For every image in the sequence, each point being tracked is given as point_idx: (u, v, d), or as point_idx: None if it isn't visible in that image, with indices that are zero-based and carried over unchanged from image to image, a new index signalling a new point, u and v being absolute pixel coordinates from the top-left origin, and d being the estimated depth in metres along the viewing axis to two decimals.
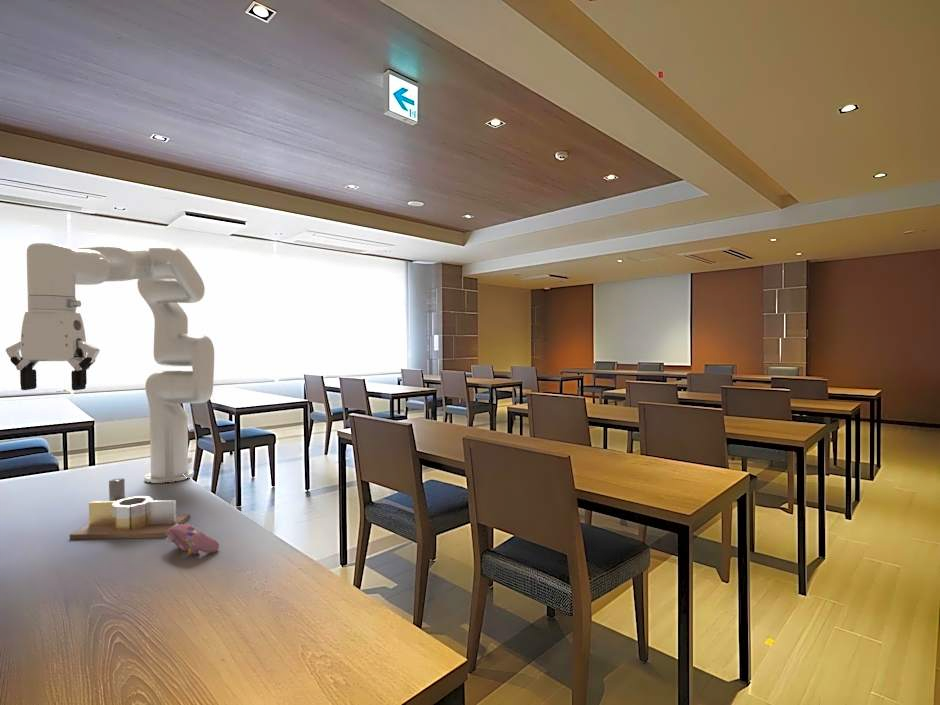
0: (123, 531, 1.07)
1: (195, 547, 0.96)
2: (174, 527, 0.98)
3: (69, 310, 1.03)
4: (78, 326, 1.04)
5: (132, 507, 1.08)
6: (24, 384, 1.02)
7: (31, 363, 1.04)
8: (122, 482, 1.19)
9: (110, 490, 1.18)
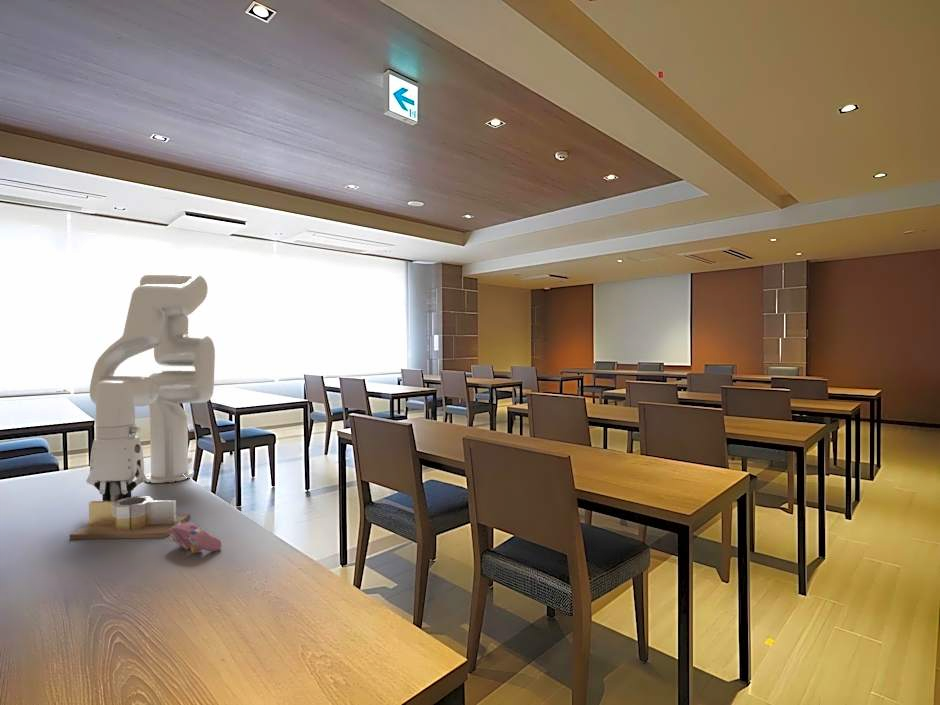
0: (123, 531, 1.07)
1: (198, 546, 0.97)
2: (177, 526, 0.99)
3: (131, 436, 1.19)
4: (137, 448, 1.21)
5: (132, 507, 1.08)
6: None
7: (108, 485, 1.20)
8: None
9: (110, 490, 1.18)
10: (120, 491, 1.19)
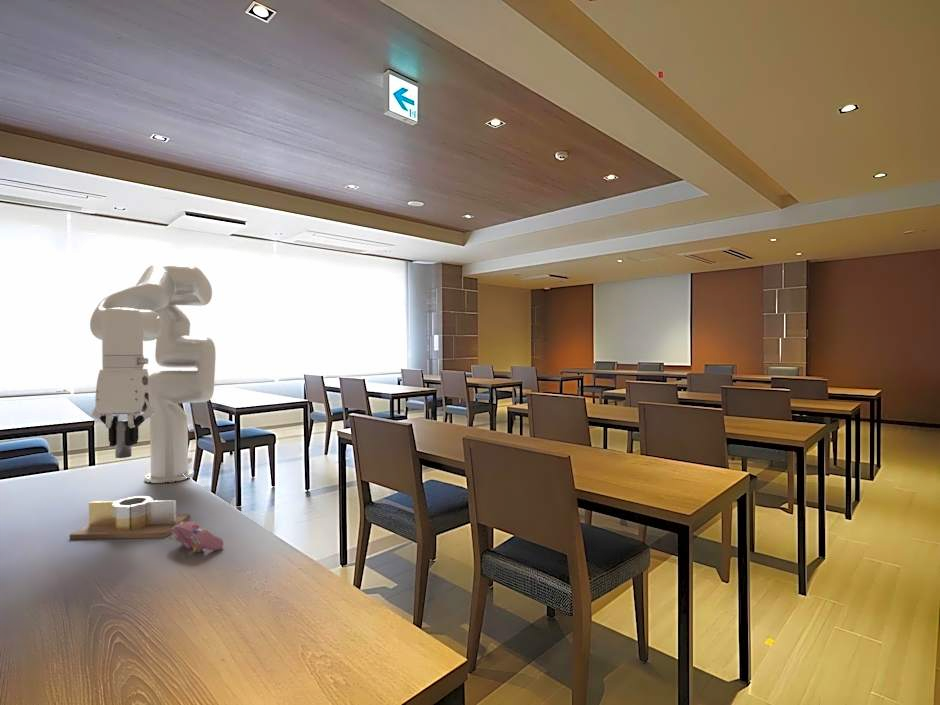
0: (123, 531, 1.07)
1: (200, 545, 0.97)
2: (179, 525, 0.99)
3: (138, 367, 1.13)
4: (145, 381, 1.15)
5: (132, 507, 1.08)
6: (112, 441, 1.12)
7: (115, 419, 1.14)
8: None
9: (116, 431, 1.12)
10: None
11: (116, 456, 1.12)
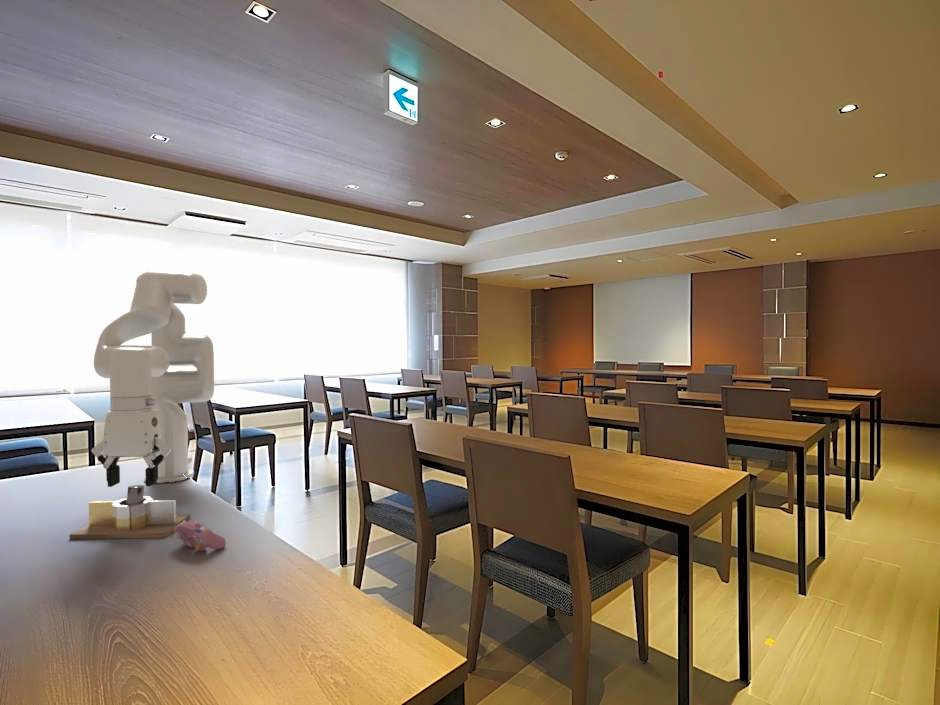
0: (123, 531, 1.07)
1: (203, 544, 0.98)
2: (181, 524, 1.00)
3: (147, 408, 1.10)
4: (154, 422, 1.11)
5: (132, 507, 1.08)
6: (110, 481, 1.09)
7: (115, 459, 1.11)
8: (142, 489, 1.11)
9: (128, 497, 1.10)
10: (138, 499, 1.10)
11: None
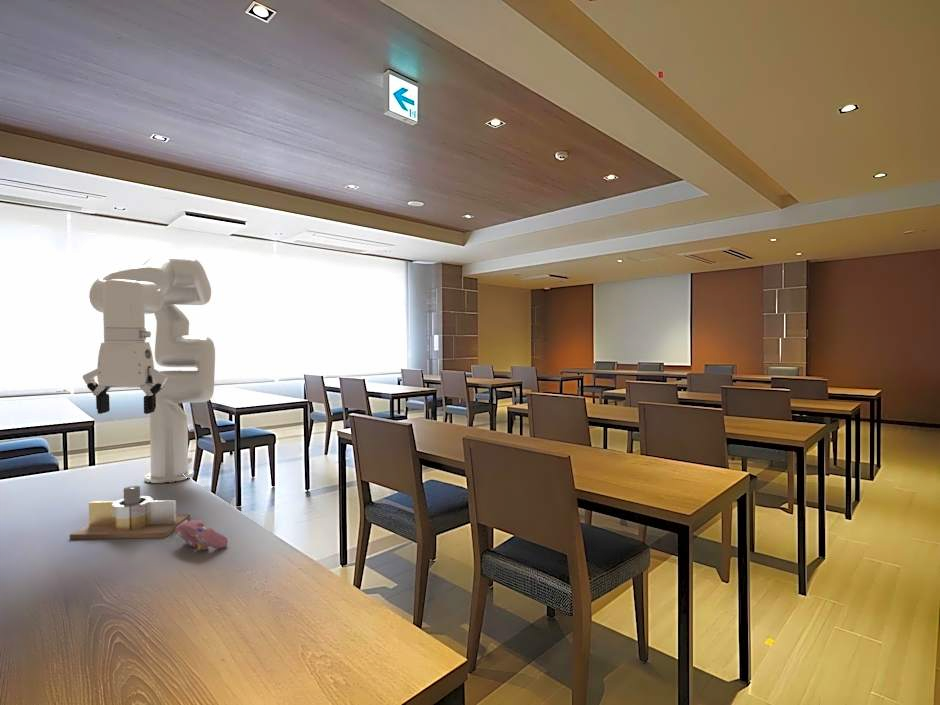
0: (123, 531, 1.07)
1: (205, 543, 0.98)
2: (184, 523, 1.00)
3: (141, 340, 1.12)
4: (148, 354, 1.13)
5: (132, 507, 1.08)
6: (100, 408, 1.11)
7: (105, 388, 1.13)
8: (138, 490, 1.10)
9: (125, 499, 1.09)
10: (135, 500, 1.10)
11: None
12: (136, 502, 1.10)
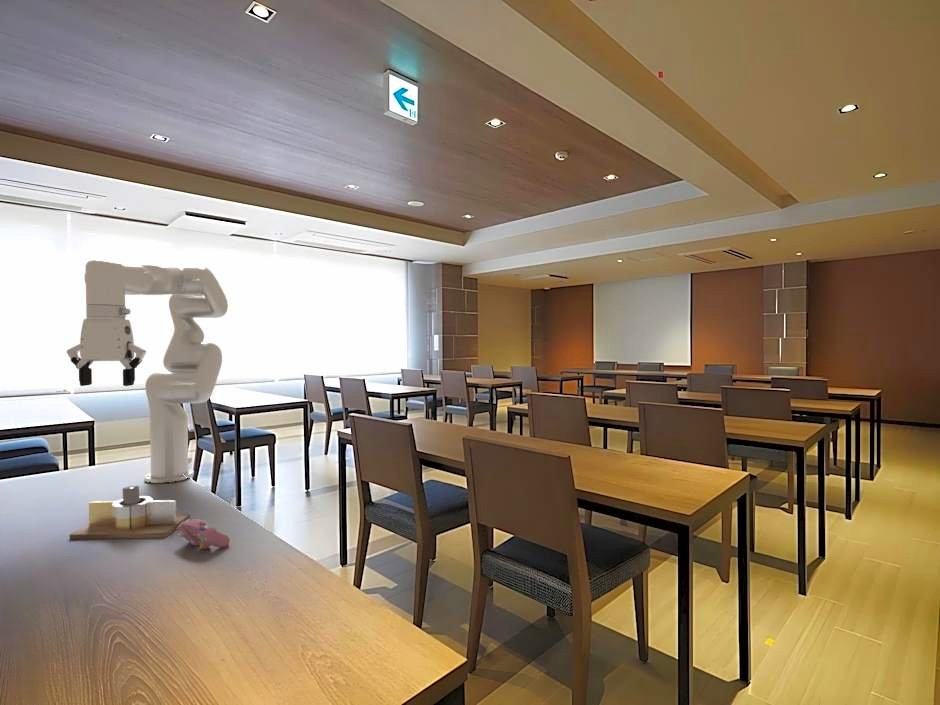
0: (123, 531, 1.07)
1: (207, 542, 0.99)
2: (186, 523, 1.01)
3: (121, 317, 1.20)
4: (128, 331, 1.21)
5: (132, 507, 1.08)
6: (82, 380, 1.19)
7: (87, 363, 1.21)
8: (136, 490, 1.10)
9: (124, 499, 1.09)
10: (134, 500, 1.10)
11: None
12: (135, 502, 1.10)
